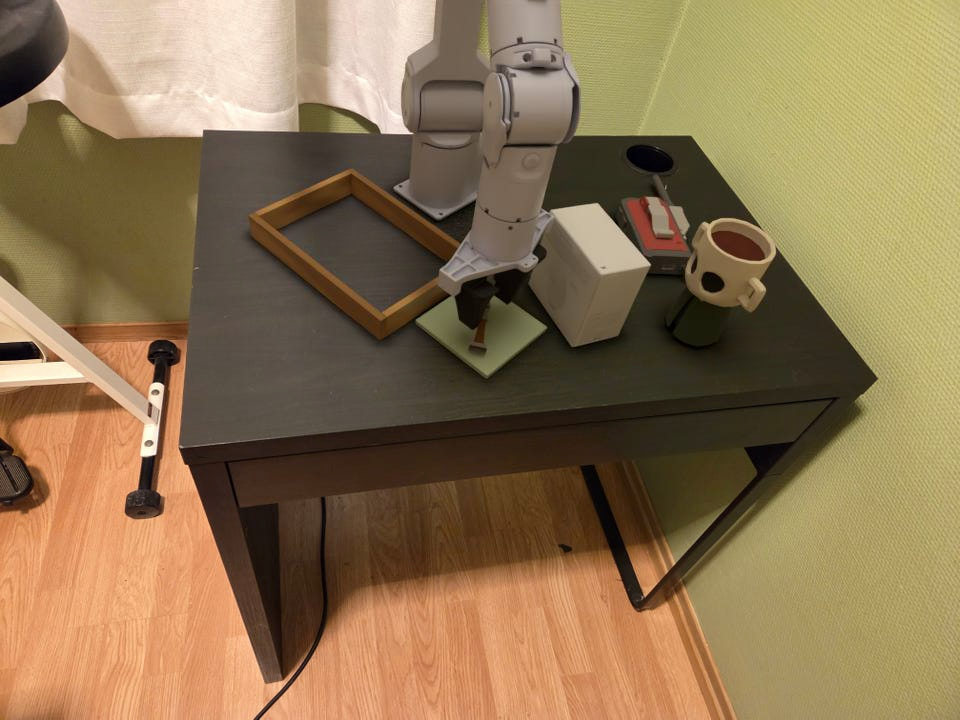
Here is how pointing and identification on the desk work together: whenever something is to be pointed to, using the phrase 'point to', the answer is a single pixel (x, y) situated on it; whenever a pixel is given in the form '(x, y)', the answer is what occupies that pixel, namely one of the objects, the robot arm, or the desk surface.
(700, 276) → the character mug
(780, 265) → the desk surface
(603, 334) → the cosmetics box
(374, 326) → the wooden frame
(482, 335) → the wooden post with brackets
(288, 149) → the desk surface
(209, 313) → the desk surface
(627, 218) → the walkie-talkie
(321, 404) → the desk surface
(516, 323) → the mat
